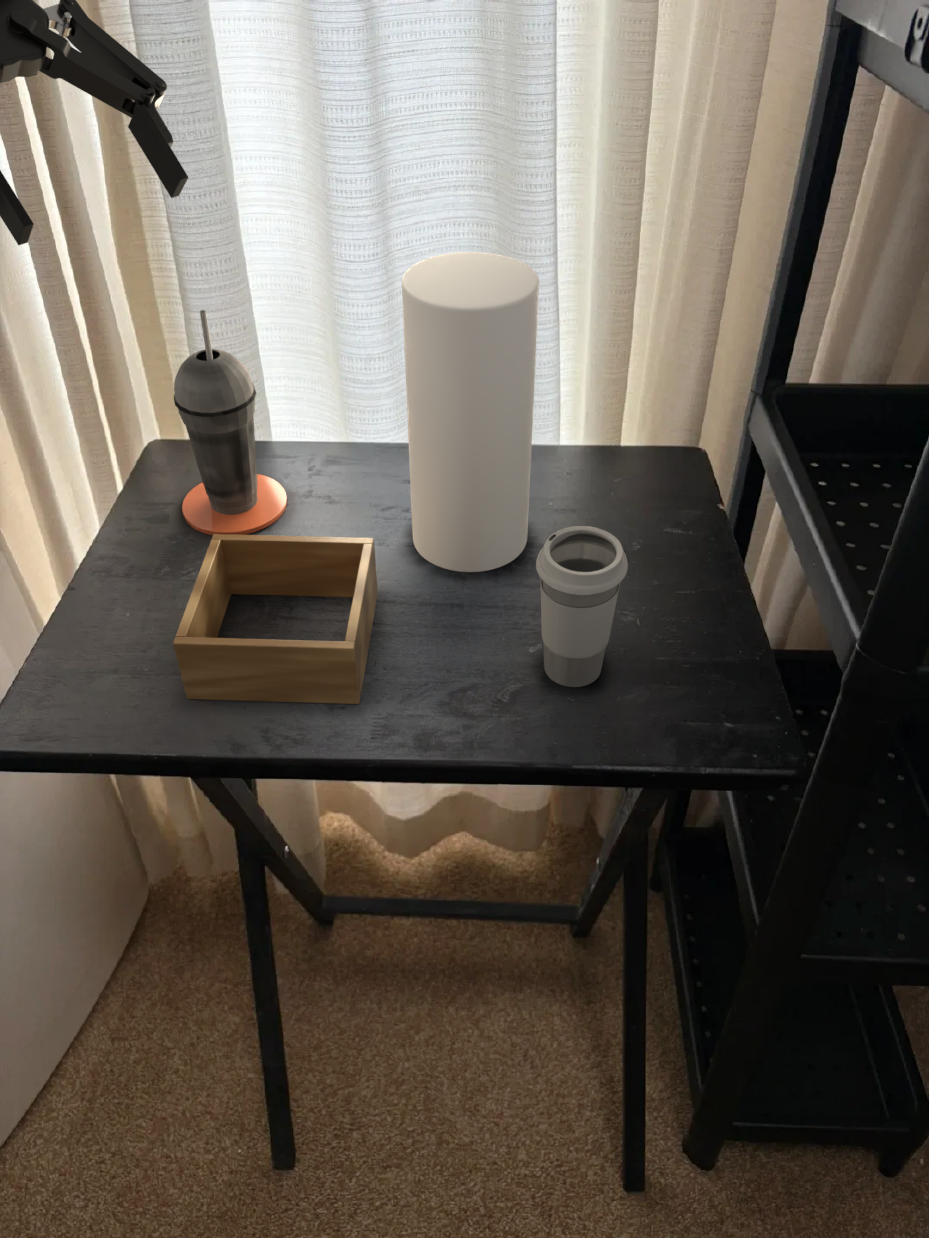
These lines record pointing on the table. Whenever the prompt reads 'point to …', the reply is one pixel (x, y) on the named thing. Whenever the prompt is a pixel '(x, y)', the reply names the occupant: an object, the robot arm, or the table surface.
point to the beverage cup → (220, 424)
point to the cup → (578, 601)
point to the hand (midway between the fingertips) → (106, 211)
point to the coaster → (247, 522)
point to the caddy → (267, 662)
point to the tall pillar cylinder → (470, 406)
